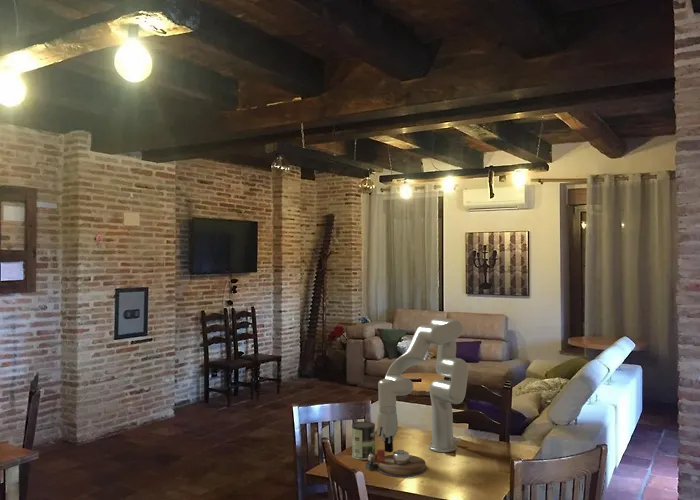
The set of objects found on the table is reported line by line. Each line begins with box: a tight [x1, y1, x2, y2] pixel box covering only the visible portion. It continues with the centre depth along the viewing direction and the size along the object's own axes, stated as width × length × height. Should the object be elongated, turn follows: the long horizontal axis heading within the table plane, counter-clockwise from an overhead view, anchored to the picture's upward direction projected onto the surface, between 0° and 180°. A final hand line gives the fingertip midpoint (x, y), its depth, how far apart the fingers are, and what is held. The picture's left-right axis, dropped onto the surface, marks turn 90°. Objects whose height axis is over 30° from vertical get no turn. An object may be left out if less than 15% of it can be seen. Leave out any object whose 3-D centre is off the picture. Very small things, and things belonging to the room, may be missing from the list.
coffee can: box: [351, 421, 376, 461], centre depth 259 cm, size 10×10×14 cm
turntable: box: [376, 448, 426, 476], centre depth 244 cm, size 20×20×7 cm
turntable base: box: [376, 463, 428, 478], centre depth 244 cm, size 21×21×1 cm
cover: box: [392, 449, 410, 466], centre depth 243 cm, size 6×6×5 cm
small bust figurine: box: [365, 454, 378, 471], centre depth 244 cm, size 4×3×6 cm
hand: (388, 451), depth 250 cm, fingers closed
